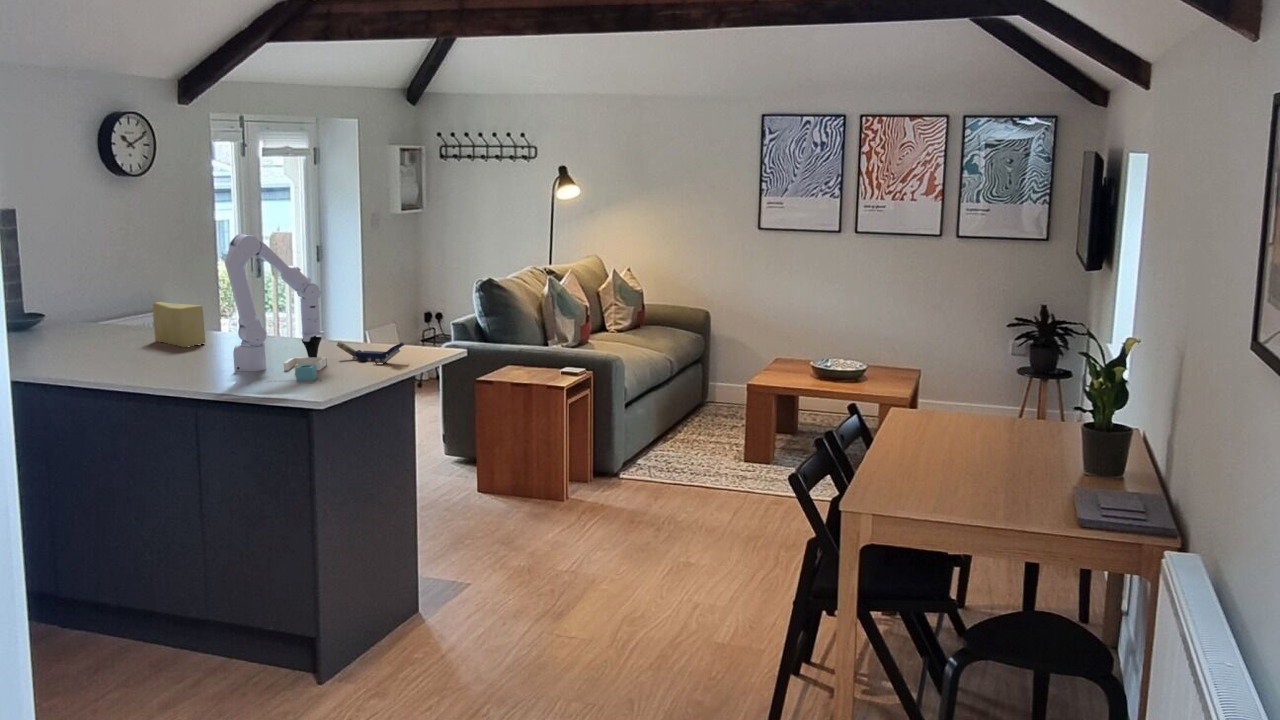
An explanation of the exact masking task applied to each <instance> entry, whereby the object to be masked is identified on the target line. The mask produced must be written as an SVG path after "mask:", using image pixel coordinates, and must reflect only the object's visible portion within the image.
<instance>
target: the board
mask: <svg viewBox="0 0 1280 720" xmlns="http://www.w3.org/2000/svg"><path fill="white" fill-rule="evenodd" d="M298 366H299V365H298V364H297V365H295V366H294V375H296V368H297V367H298ZM322 381H323V380H322V379H315V380H314V381H313V382H322ZM264 382H265V383H276V382H277V383H282V382H283V383H284V382H285V383H287V382H292V383H295V382H296V383H297V382H307V381H296V380H265V381H264Z"/></svg>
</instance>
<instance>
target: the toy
mask: <svg viewBox="0 0 1280 720" xmlns="http://www.w3.org/2000/svg"><path fill="white" fill-rule="evenodd" d="M336 346H337V347H338V348H339V349H341V350H342V351H343V352H346V353H347V354H348V355H350V356H352V358H351V360H353V361H357V362H358V361H359V362H374V363H385V362H387V363H388V362H389V361H390V360H391V359H392V358H393V357H395V356H396V355H397V354H399V353H400V352H401V350H400V348H402V347H404V346H405V344H404V342H400V343H398V344H396V345H394V346H392V347H390V348H389V349H388V350H387V351H381V350H378V351H377V350H363V351H362V350H361V349H357V350H355V349H353V348H352V347H350V346H348V345H347V344H345V343H344V342H342V341H341V340H340V341H338V342H337V344H336ZM385 364H386V363H385Z"/></svg>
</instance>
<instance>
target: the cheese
mask: <svg viewBox="0 0 1280 720" xmlns="http://www.w3.org/2000/svg"><path fill="white" fill-rule="evenodd" d="M152 315H153V317H152V318H153V328H154V329H153V330H154V341H155V342H156V341H159V342H158V343H160V342H164V343H163V344H165V343H168V344H167V345H170V344H173V345H172V346H175V345H178V346H177V347H179V346H181V347H180V348H183V347H188V346H193V345H198V344H203V343H205V344H206V333H205V319H204V318H205V317H204V307H203V305H198V304H188V303H187V304H186V303H170V302H164V301H157V302H153V303H152Z"/></svg>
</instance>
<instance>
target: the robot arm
mask: <svg viewBox="0 0 1280 720" xmlns="http://www.w3.org/2000/svg"><path fill="white" fill-rule="evenodd" d="M228 246H229V247H228V251H227V255H226V257H225V262H224V264H225V268H226V272H227V273H226V274H227V276H228V280H229V284H230V287H231V290H232V295H233V298H234V302H235V307H236V311H237V314H238V322H237V323H238V329H237V330H238V331H237V332H238V333H237V334H238V337H239V339H240V340H241V343H240V344H239V345H235V346H234V348H233V367H234V369H233V370H234V371H233V372H234V373H236V372H258V371H264V370H266V369H267V359H266V343H265V341H266V339H267V332H266V330H265V328H264V327H263V326H262V324H261V321H260V320H259V318H258V316H257V314H256V310H255V305H254V303H253V299H252V295H251V291H250V286H249V283H248V279H247V276H246V272H245V268H244V267H245V265H246V264H247V262H249V260H250V259H251V258H253V257H254V256H257V257H259V258H260V257H261V258H262V259H263V260H264V261H266V262H267V263H268V264H269V265H270V266H272V267H273V268H275V270H277V271H278V272H279V273H280V278H281V280H282V281H283V282H285V284H286V285H288V286H289V287H290V288H291V289H292V290H294V292H296V294H297V296H298V297H299V298H300V314H301V315H300V317H301V318H300V319H301V330H302V331H301V336H302V338H301V343H302V344H303V345H304V347H305V350H306V353H307V357H318V353H319V352H318V351H319V346H320V344H321V341H322V336H320V335H324V334H325V331H324V330H322V331H321V322H320V321H321V320H320V304H319V299H320V297H321V295H322V291H321V290H320V288H319V285H317V284H316V283H313V282H311V281H312V279H311V278H310V277H307V276H305V274H304V273H302V272H301V268H300V267H298V266H295V265H288V264H287V263H286V262H285V261H284V260H282V258H280V257H279V255H277V254H276V253H275V252H274V250H272V248H270V247H269V246H268V245H267V244H266V243H264V242H263V241H262V240H259V238H258V237H257V236H256V235H248V234H245V233H239V234H236V235H235V236H234V237H233V238H232V239H231V241H230V242H229V243H228Z"/></svg>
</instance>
